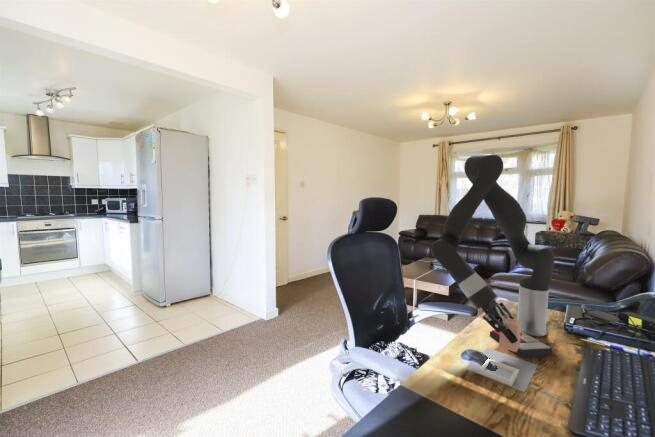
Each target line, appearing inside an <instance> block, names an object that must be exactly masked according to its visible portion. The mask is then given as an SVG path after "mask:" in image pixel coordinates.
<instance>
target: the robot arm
mask: <svg viewBox="0 0 655 437" xmlns="http://www.w3.org/2000/svg"><path fill="white" fill-rule="evenodd" d="M463 166H464V167H463V169H464V170H463V171H464V173H465V176H466V178H467V179H468V180H469V181H470V183H471V184H472V185H471V187H470V189H468V191H467V193H465V194H464V196H463V197H461V199H459V200H458V202H457V203H455V205H454V206H453V207H452V209H451V210H450V212H449V213H448V216H447V218H446V220H445V222H444V224H443V227H442V233H441V236H440V237H439V239H437V240H436V241H434V242H433V243H432V244H431V247H430V248H431V249H430V251H431V253H432V256H433V257H434V258H435V260H436V261H437V262H438V263H439V264H440V265H441V266H442V267H443V268H444V269H445V270H446V271H447V272H448V274H449V275H450V276H451V278H452V279H453V280H454V282H455V283H456V284H457V285H458V287H459V288H460V290H461V291H462V293H463V294H464V295H465V297H466V298H467V299H468V300H469V301H470V303H471V304H472V305H473V306H474V307H475V309H477V310H479V309H482V310H483V312H484V314H485V315H483V316H482V318H483V320H484V321H486V322H487V323H488V325H489V326H490V327H492V329H493V330H496V331H497V332H501V333H503V334H504V335H505V336H506V337H507V339H508V340H509V341H510V342H511V343H515V342H517V341H518V338H517V337H516V336H515V335H514V334H513V333H512V331H511V330H510V329H509V328H508V326H507V325H506V324H505V319H504V318H510V319H513V320H515V318H514V317H513V315H512V314H511V312H510V311H509V309H507V307H506V305H505V304H504V303H503V302H502V301H501V302H500V303H498V302H497V301H496V300H495V299H497V296H498V295H497V294H496V293H495V291H494V290H493V289H492V287H490V285H488V283H487V282H486V281H485V280H484V279H483V278H482V277H481V276H480V275H479V274H478V273H477V272H476V271H475V269H474V268H473V267H472V266H471V265H470V264H469V263H468V262H467V261H466V260H465V259H464V258H463V257H462V256H461V255H460V254H459V253H458V249H459V245H460V244H461V241H462V238H463V235H464V234H465V233H466V231H467V229H468V226H469V224H470V221H471V220H472V218H473V216H474V214H475V213H476V211H477V209H478V208H479V207H480V205H481V203H482V202H483V201H484V203H485V204H486V206H487V207H488V209H489V211H490V212H491V214H492V215H491V216H493V218H494V220H495V222H496V224H497V225H498V226H499V228H500V230H501V232H502V233H503V234H504V235H503V236H505V239H506V241H507V242H508V244H509V246H510V248H511V251H512V254H513V255H514V258H515V260H516V262H517V263H518V264H519V265H520V266H522V267H524V268H525V269H529V270H530V269H531V270H532V273H531V275H530V276H523V277H521V278H520V279H519V286H518V288H519V289H518V298H517V299H518V302H517V303H518V304H517V316H516V320H517V321H521V332H523V333H525V334H527V335H529V336H531V337H543V336H546V332H547V331H546V330H547V318H548V308H549V307H548V304H549V292H550V291H549V290H550V285H551V283H552V279H553V272H554V267H555V254H554V251H553V250H552V248H550V247H547V246H543V245H536V244H532V243H531V242H529V240H528V238H527V237H526V234H525V229H526V225H527V222H528V220H527V215H526V213H525V210H523V208H522V206H521V204H520V203H519V201H517V199H516V198H515V197H514V196H513V195H511V194H510V193H509V192H508V191H506V190H505V189H504V188H503V187H502V186H501V185H500V184H499V183H498V182H497V181H498V180H499V178H500V176H501V174H502V173H503V171H504V160H503V159H502V158H501V156H500V155H498V154H495V153H494V154H493V153H486V154H485V153H484V154H483V153H482V154H474V155H471V156H469V157H468V158H466V160H465V163H464V165H463ZM501 323H502V324H503V325H502V324H501ZM521 335H522V333H521ZM521 335H520V336H521Z"/></svg>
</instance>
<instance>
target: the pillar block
mask: <svg viewBox="0 0 655 437" xmlns="http://www.w3.org/2000/svg"><path fill="white" fill-rule="evenodd" d="M504 319H505V324H506V325H507V326H508V328H509V329H510V330H511V331H512V333H513V334H514V335H515V336H516V337H517V338H518V341H517V342H515V343H511V342H510V341H509V340H508V339H507V337H506V336H505V335H504V334H503V333H501V332H500V340H499V341H498V347H499V348H502V349H504V350H508V351H511V352H513V351H514V352H517V350H518V349H519V347H520V335H521V321H517V319H510V318H504ZM501 324H502V323H501ZM502 325H503V324H502ZM514 352H513V353H514Z"/></svg>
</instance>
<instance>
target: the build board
mask: <svg viewBox="0 0 655 437" xmlns="http://www.w3.org/2000/svg"><path fill="white" fill-rule="evenodd" d="M482 353H483V354H484V355H486V356H487V357H488V359H487V360H486V361H485V363H484V364H483V365H482V366H481V367H480V366H478V365H476V364H474V362H472V363H471V365H470V366H469V367H468V368H467V370H468V371H470V372H472V373H475V374H477V375H480V376H481V377H485V378H488V379H490V380H492V381H494V382H497V383H500V384H502V385H504V386H507V387H510V388H512V389H515V390H518V391H519V392H523V393H525V392H526V390H527V388H528V385H529V384H530V382H531V380H532V378H533V376H534V374H535V372H536V370H537V368H538V366H539V364H537V363H534V362H530V361H528V360H525V359H522V358H518V357H516V356H513V355H509V354H507V353H504V352H501V351H498V350H495V349H492V348H490V347H486V348H485V349H484V350H483V351H482ZM489 358H490V359H489ZM489 362H492V363H493V364H495V365H496V366H497V368H498V369H497V370H496V371H490V370H486V367H487V366H488V364H489Z"/></svg>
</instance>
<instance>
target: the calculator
mask: <svg viewBox="0 0 655 437" xmlns="http://www.w3.org/2000/svg"><path fill="white" fill-rule="evenodd" d="M521 333H522V335H521V336H520V347H519V349H518V350H517V352H514V351H512V352H513V353H515V354H516V355H517V356H518V357H520V358H532V357H534V358H535V357H551V356H552V357H553V348H552V347H551V346H549V345H547V344H545V343H544V342H540V340H538V339H537V338H535V337H534V336H532V335H528V334H525V333H523V332H521ZM489 336H490V337H491V338H493V339H494V340H495V341H497V342H499V340H500V332H497V331H496V330H495V329H492V330H490V331H489Z"/></svg>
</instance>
